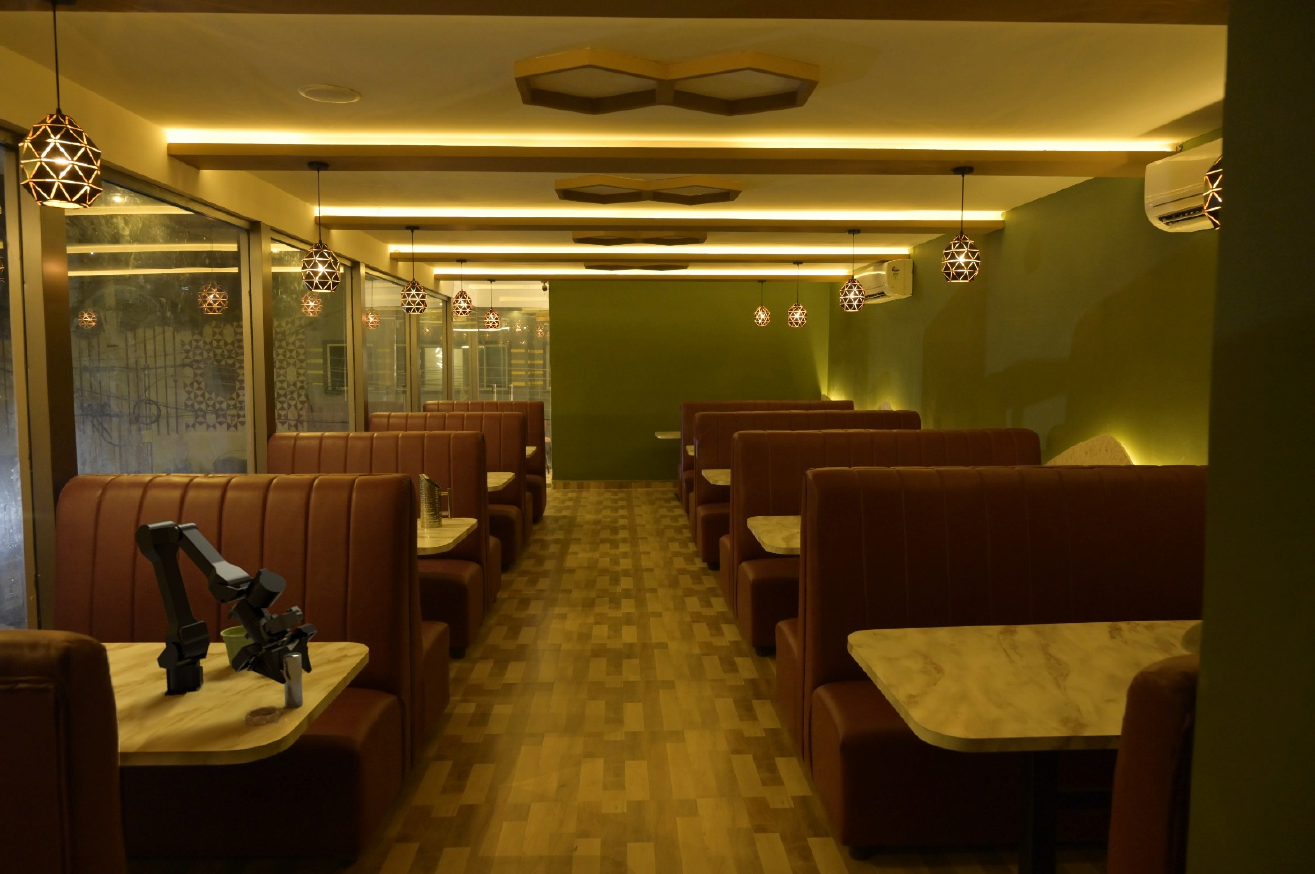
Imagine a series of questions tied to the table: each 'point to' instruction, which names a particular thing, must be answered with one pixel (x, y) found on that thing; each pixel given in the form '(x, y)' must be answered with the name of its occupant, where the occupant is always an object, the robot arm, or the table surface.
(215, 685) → the table surface
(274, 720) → the ring stand
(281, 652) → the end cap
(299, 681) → the peg
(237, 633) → the plant pot
